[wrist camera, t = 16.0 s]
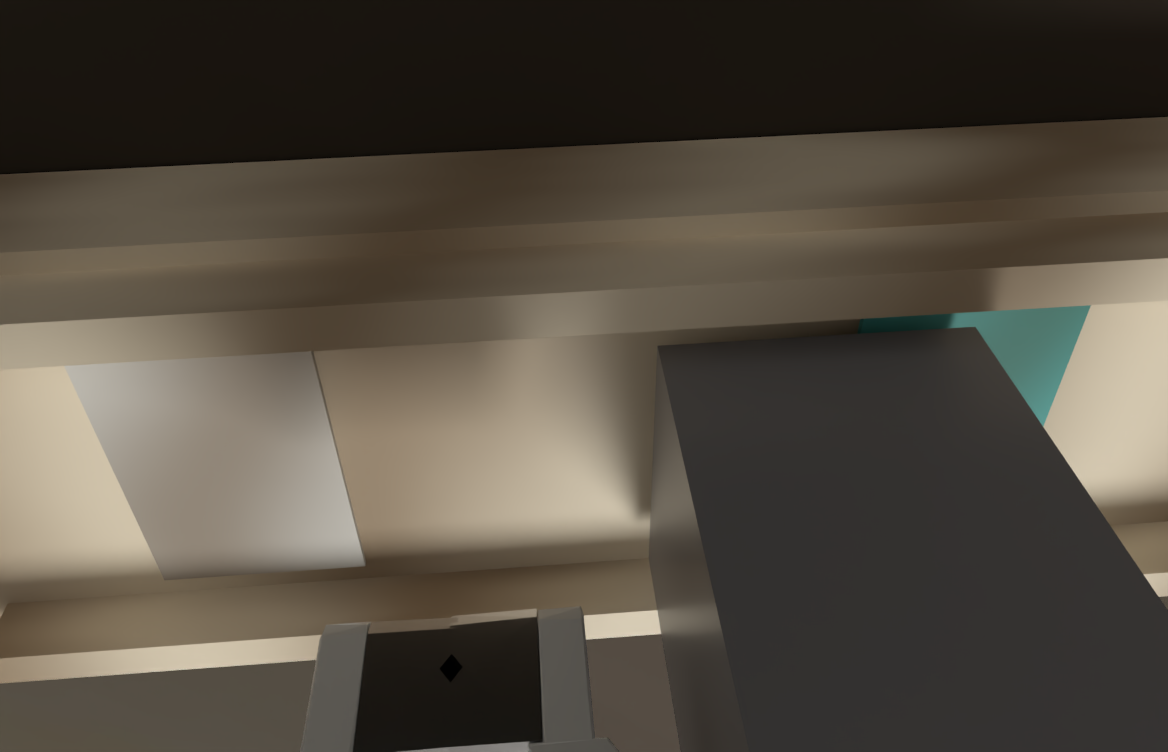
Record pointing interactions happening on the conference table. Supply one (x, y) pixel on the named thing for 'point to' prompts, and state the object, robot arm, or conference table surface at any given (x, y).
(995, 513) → the grey rectangular block
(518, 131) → the conference table surface
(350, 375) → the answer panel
